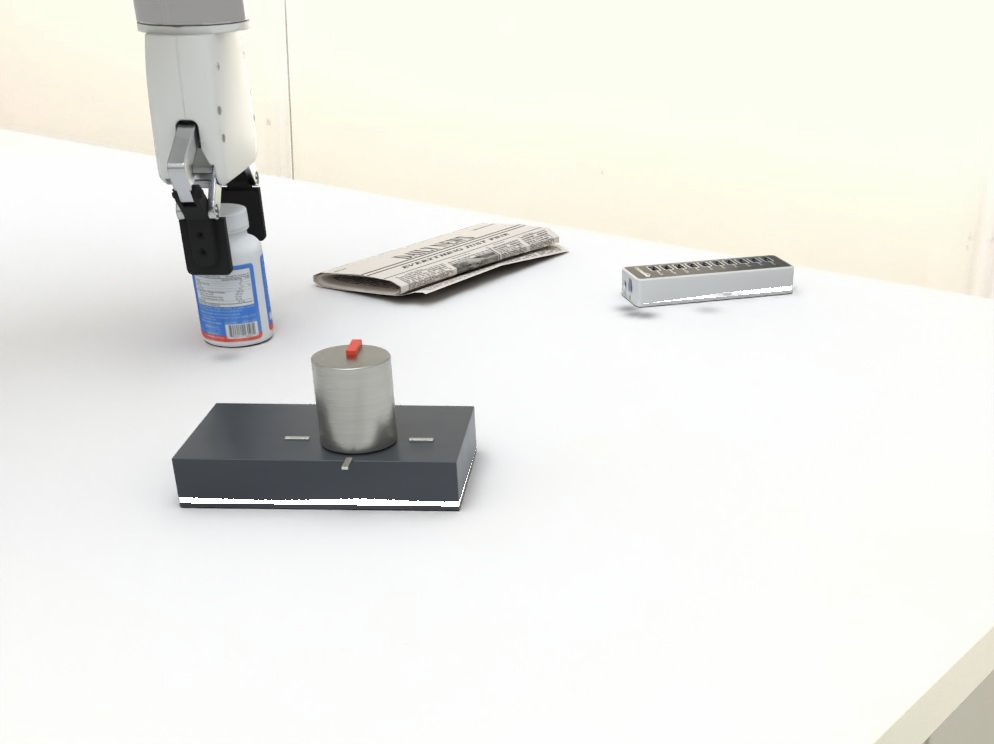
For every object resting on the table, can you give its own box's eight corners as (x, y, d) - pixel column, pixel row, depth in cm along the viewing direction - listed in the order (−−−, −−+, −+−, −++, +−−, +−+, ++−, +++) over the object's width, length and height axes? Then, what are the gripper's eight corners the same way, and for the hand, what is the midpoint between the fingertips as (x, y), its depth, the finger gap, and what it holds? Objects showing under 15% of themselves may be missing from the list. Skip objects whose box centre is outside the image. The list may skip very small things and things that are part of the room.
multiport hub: (794, 293, 116) (795, 266, 115) (637, 307, 111) (637, 279, 110) (773, 280, 119) (774, 254, 118) (620, 293, 115) (620, 266, 114)
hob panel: (172, 517, 75) (163, 464, 73) (222, 447, 84) (215, 400, 82) (456, 520, 75) (453, 468, 73) (476, 450, 84) (474, 403, 82)
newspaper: (420, 309, 110) (415, 278, 109) (317, 300, 117) (311, 271, 116) (581, 251, 127) (578, 224, 125) (482, 246, 133) (479, 220, 132)
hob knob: (391, 454, 75) (383, 363, 73) (313, 454, 75) (302, 363, 73) (402, 426, 79) (395, 339, 76) (328, 425, 79) (318, 338, 76)
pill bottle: (229, 324, 106) (210, 198, 101) (287, 331, 105) (271, 204, 100) (187, 343, 102) (165, 213, 97) (247, 351, 100) (229, 219, 95)
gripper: (175, -6, 99) (211, 228, 108) (91, 19, 84) (142, 288, 93) (276, -6, 99) (304, 228, 108) (210, 19, 84) (249, 289, 93)
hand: (229, 256), depth 100 cm, fingers open, 9 cm apart
